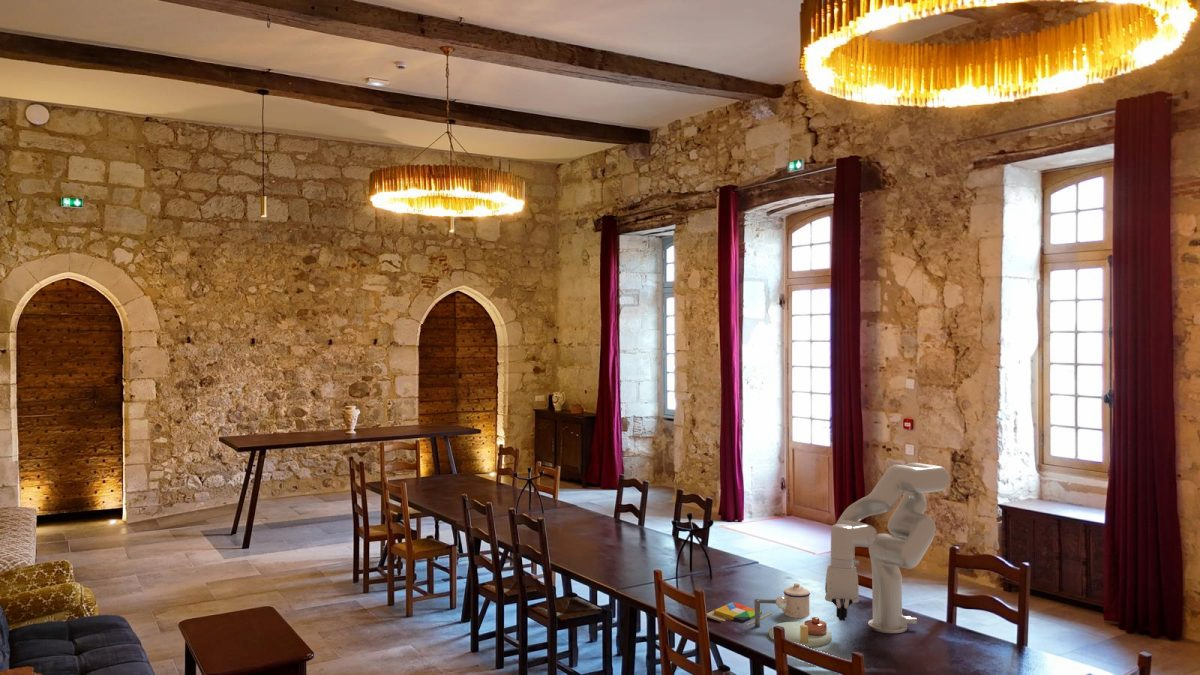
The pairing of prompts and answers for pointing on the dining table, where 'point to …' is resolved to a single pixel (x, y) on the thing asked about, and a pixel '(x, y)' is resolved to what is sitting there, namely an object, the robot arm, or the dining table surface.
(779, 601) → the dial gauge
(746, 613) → the wooden puzzle
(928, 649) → the dining table surface
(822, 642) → the turntable
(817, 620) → the cover
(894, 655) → the dining table surface
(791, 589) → the teacup with lid
